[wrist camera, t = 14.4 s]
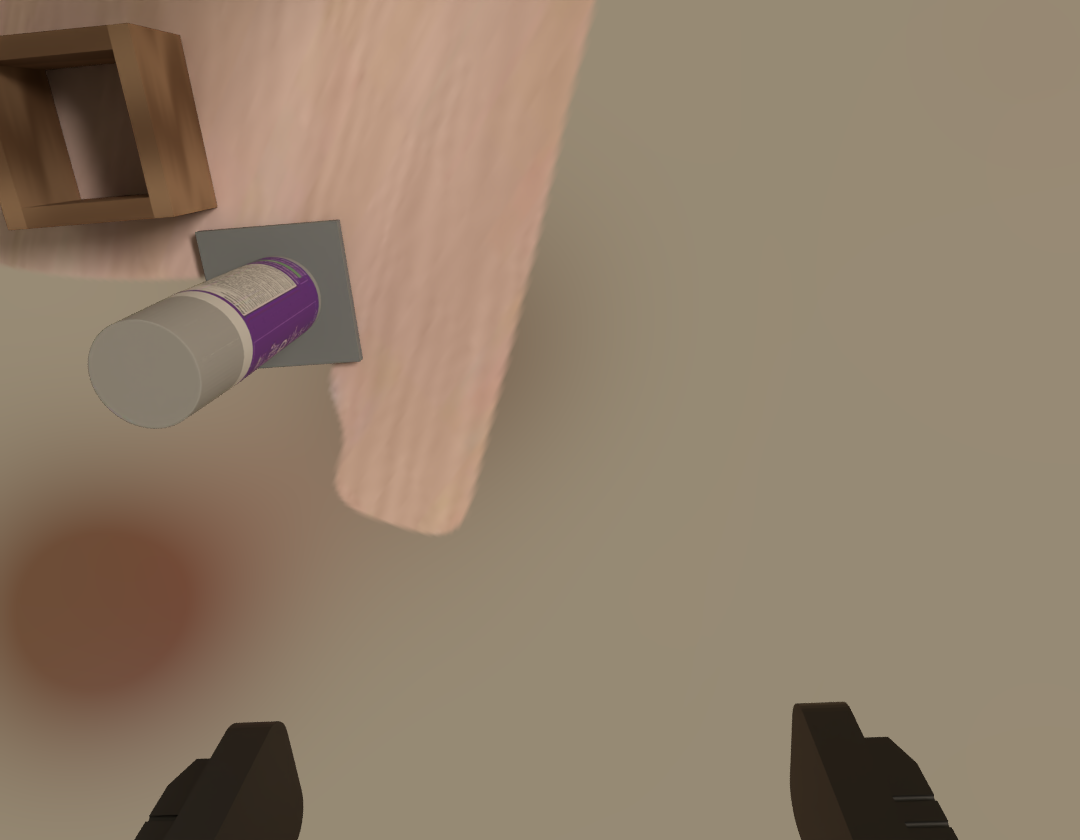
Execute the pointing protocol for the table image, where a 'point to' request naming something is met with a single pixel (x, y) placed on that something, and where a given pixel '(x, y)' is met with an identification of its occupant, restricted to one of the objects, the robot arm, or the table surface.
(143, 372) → the container
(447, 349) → the table surface
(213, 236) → the mat
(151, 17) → the table surface
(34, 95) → the holder
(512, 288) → the table surface
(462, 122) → the table surface
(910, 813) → the robot arm
